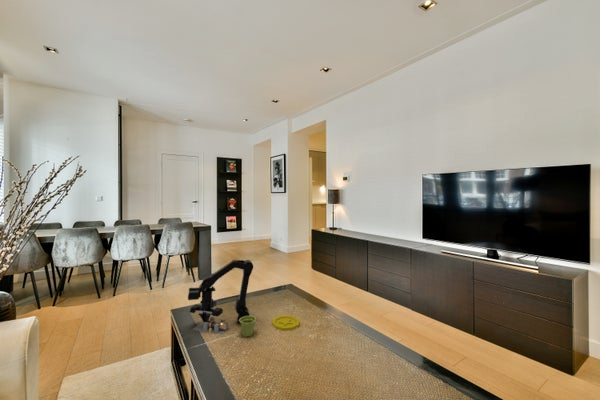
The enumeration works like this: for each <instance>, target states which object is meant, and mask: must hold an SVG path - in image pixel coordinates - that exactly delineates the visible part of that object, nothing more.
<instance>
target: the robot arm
mask: <svg viewBox="0 0 600 400" xmlns="http://www.w3.org/2000/svg"><path fill="white" fill-rule="evenodd" d="M233 269H240V270H242V278H241V285H240V291H239V296H238V298H235V303H234V309H235V311H236V312H235V313H236V314H238V315H237V317H236V323H237V324H238V325H240V326H241V324H240V321H239V320H240V318H242V317H244V316H250V312H249V308H248V307H247V305H246V304H247V303H246V302H247V301H246V298H247V292H248V286H249V280H250V276H251V274H252V272H253V269H254V264H253V262H252V261H251V260H250V259H246V260H240V259H239V260H237V259H232V260H231V261H230V262H229V263H227V264H226V265H224V266H223V267H221V268H220V269H218V270H217V271H216V272H213V273H211V274H208V275H206V276H204V277H203V278H202V282H201V284H200V285H198V286H199V287H189V288H188V295H187V301H195V300H199V299H200V298H201V301H200V304H194V305H193V306H191V307H190V309H189V313H191V314H195V313H196V311H197V312H198V316H199V317H200V318H201V320H202V322H208V321H210V318H211V317H215V318H217V317H220V315H222V314H223V313H224V310H223V308H222V307H217V303H218V301H217V300H214V299H213V292H216V288H215V287H214V284H215V283H216V282H217V281H218V280H219V279H221V278H222V277H223V276H225V275H227V274H228V273H229V272H230V271H232V270H233ZM214 307H216V308H214Z"/></svg>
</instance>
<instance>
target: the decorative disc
mask: <svg viewBox="0 0 600 400" xmlns="http://www.w3.org/2000/svg"><path fill="white" fill-rule="evenodd" d="M300 321H301V320H300V319H299V318H297V317H296V316H294V315H293V316H292V315H287V314H285V315H277V317H276V316H275V317H274V318H273V319H272V321H271V326H272V325H273V326H274V327H275V328H276V329H275V328H274V327H273V326H272V327H273V328H274V329H275V330H278V329H279V331H283V332H286V331H288V330H289V331H294V330H296V329H297V328H296V327H298V326H299V327H300V323H299V322H300ZM299 327H298V328H299ZM295 328H296V329H295ZM293 329H294V330H293Z"/></svg>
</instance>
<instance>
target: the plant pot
mask: <svg viewBox="0 0 600 400" xmlns="http://www.w3.org/2000/svg"><path fill="white" fill-rule="evenodd" d="M239 321H240V324H241V325H240V324H239V325H240V327H241V336H243V337H245V338H247V337H252V336H253V335H254V327H255V323H256V321H257V318H256V317H255V316H253V315H249V316H244V317H242V318H240V320H239Z"/></svg>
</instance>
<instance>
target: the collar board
mask: <svg viewBox="0 0 600 400" xmlns="http://www.w3.org/2000/svg"><path fill="white" fill-rule="evenodd" d="M215 318H216V316H210V318H209V321H216V320H215ZM217 322H224V323H226V318H223V317H221V318H220V321H219V320H217ZM230 328H232V326H231V325H228V329H227V330H219V324H215V325H214V329H212V328H208V322H203V321H201V322H200V323H199V324H197V325H196V326H195V327H193V328H192V331H196V332H204V333H209V334H210V333H211V334H217V335H225V334H226V333H227V331H228V330H230Z"/></svg>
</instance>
